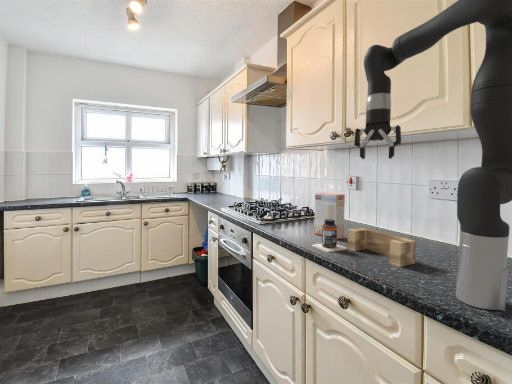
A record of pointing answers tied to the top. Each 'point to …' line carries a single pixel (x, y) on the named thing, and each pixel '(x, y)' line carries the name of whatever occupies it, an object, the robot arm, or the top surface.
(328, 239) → the supplement bottle
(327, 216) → the cracker box
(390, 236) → the oak bracket
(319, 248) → the plate
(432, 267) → the top surface
